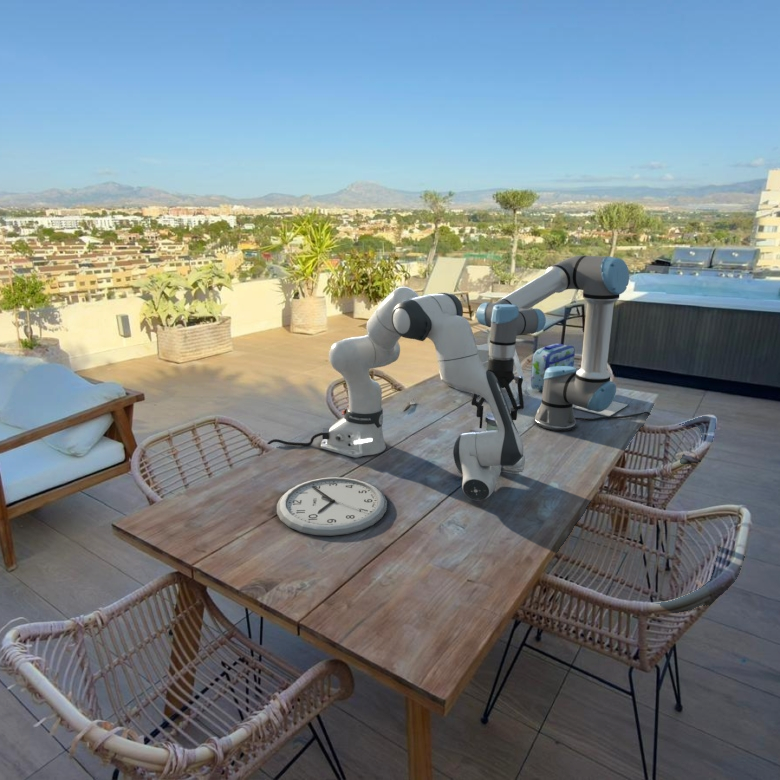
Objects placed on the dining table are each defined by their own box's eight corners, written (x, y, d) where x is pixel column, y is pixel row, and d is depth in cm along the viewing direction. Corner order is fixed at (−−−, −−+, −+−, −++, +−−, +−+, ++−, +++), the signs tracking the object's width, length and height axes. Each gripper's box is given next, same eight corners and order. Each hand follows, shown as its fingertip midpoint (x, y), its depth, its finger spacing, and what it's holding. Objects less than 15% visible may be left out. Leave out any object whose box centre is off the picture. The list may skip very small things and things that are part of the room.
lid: (492, 416, 166) (493, 411, 166) (511, 421, 162) (511, 416, 161) (481, 421, 162) (481, 416, 161) (499, 427, 157) (500, 422, 157)
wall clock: (392, 527, 129) (268, 531, 127) (391, 533, 130) (269, 537, 127) (383, 473, 158) (282, 475, 155) (383, 478, 158) (282, 480, 156)
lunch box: (547, 395, 239) (552, 351, 233) (526, 390, 247) (530, 347, 240) (574, 384, 257) (579, 343, 251) (554, 380, 264) (558, 339, 258)
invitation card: (608, 416, 214) (573, 407, 224) (608, 416, 214) (573, 408, 224) (628, 404, 229) (594, 396, 238) (628, 405, 229) (594, 397, 238)
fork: (400, 412, 215) (400, 407, 215) (412, 400, 229) (412, 396, 229) (406, 412, 214) (406, 408, 214) (418, 401, 229) (418, 397, 228)
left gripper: (523, 462, 149) (528, 444, 161) (453, 451, 155) (463, 435, 168) (521, 482, 151) (526, 463, 163) (452, 470, 157) (462, 453, 170)
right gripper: (537, 356, 157) (529, 426, 164) (466, 352, 161) (462, 420, 168) (538, 362, 150) (531, 435, 157) (464, 357, 154) (460, 429, 161)
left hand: (494, 448), depth 165 cm, fingers closed on jar, 5 cm apart
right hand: (495, 428), depth 162 cm, fingers open, 8 cm apart
